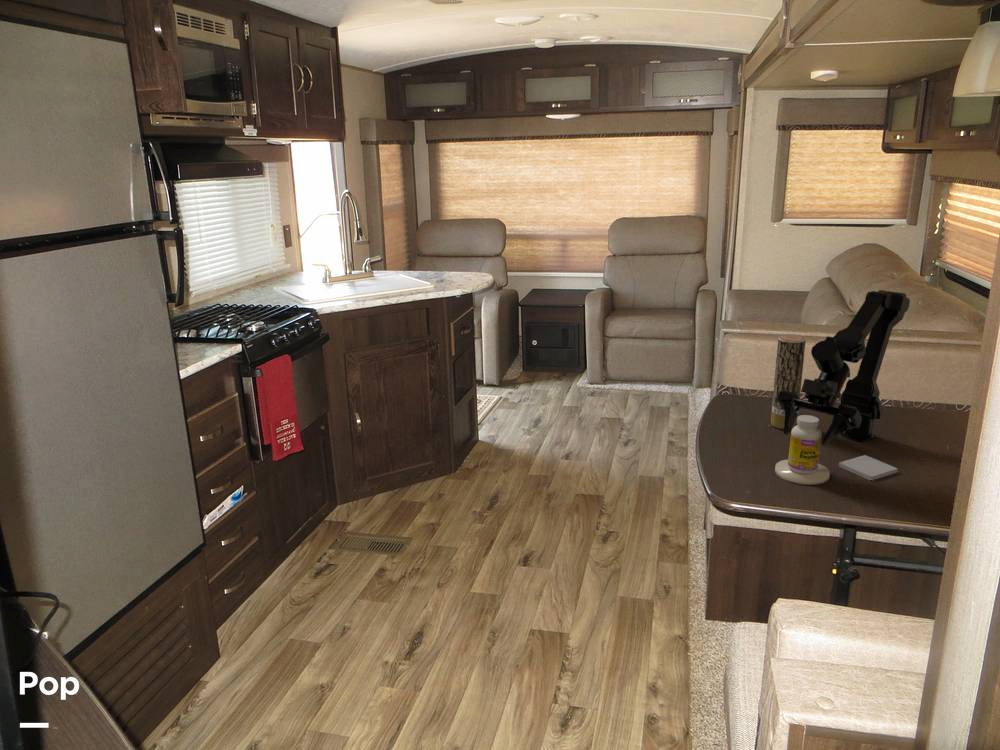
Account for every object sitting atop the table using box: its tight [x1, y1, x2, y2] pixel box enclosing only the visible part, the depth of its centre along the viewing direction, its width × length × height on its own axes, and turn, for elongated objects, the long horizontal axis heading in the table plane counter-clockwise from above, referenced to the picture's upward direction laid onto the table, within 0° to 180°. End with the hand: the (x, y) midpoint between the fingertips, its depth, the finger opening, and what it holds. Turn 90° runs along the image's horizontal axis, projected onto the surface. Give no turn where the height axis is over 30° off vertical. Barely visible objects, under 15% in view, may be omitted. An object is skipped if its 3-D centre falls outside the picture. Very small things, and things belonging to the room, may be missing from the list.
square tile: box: [838, 454, 899, 481], centre depth 180 cm, size 9×9×1 cm
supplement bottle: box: [787, 414, 823, 474], centre depth 177 cm, size 7×7×13 cm
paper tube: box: [770, 333, 807, 430], centre depth 203 cm, size 7×7×25 cm
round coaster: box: [774, 458, 831, 486], centre depth 179 cm, size 12×12×1 cm
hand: (803, 439), depth 176 cm, fingers open, 9 cm apart
